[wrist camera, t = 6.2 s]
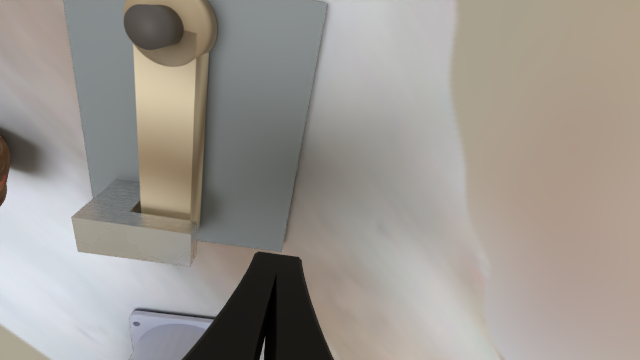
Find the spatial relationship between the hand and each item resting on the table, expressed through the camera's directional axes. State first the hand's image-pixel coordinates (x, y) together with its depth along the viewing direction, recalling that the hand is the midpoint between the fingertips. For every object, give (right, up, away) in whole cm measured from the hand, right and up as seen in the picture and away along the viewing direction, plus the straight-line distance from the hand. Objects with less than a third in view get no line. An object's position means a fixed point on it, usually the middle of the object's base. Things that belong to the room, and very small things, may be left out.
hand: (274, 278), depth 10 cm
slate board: (-5, +6, +7) cm, 11 cm away
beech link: (-6, +6, +6) cm, 10 cm away
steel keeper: (-7, +2, +8) cm, 11 cm away
